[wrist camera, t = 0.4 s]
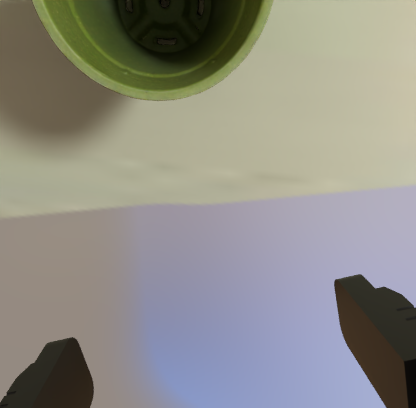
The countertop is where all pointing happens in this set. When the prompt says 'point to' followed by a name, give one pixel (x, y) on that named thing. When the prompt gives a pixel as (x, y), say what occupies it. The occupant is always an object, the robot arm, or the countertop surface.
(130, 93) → the plant pot
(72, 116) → the countertop surface
